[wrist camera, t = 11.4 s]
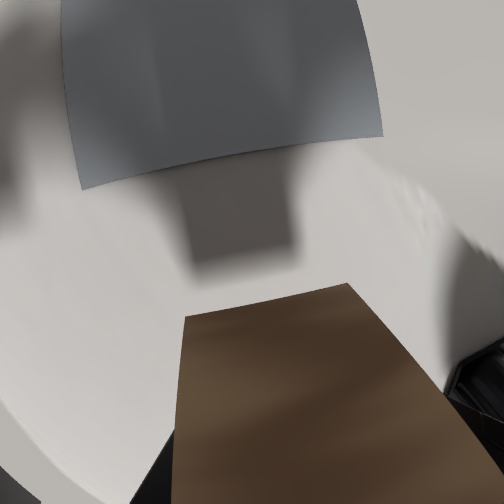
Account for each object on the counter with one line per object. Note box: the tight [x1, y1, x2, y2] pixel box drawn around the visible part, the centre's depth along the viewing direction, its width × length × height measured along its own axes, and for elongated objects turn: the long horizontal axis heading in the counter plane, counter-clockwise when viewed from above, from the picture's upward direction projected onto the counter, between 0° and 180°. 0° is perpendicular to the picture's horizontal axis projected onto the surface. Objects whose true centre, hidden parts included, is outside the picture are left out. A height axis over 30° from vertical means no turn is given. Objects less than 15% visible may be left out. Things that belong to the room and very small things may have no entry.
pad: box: [61, 0, 383, 190], centre depth 9 cm, size 12×10×1 cm
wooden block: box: [171, 283, 504, 504], centre depth 6 cm, size 4×4×7 cm
